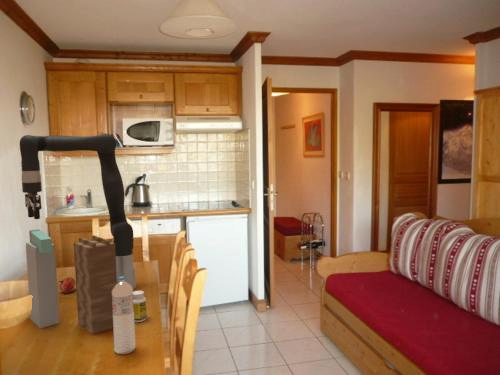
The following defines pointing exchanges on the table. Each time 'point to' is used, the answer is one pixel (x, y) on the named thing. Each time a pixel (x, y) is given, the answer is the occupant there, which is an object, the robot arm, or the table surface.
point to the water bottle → (123, 317)
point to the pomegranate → (67, 285)
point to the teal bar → (41, 241)
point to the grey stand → (42, 286)
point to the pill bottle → (139, 306)
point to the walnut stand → (95, 283)
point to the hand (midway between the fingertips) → (34, 218)
